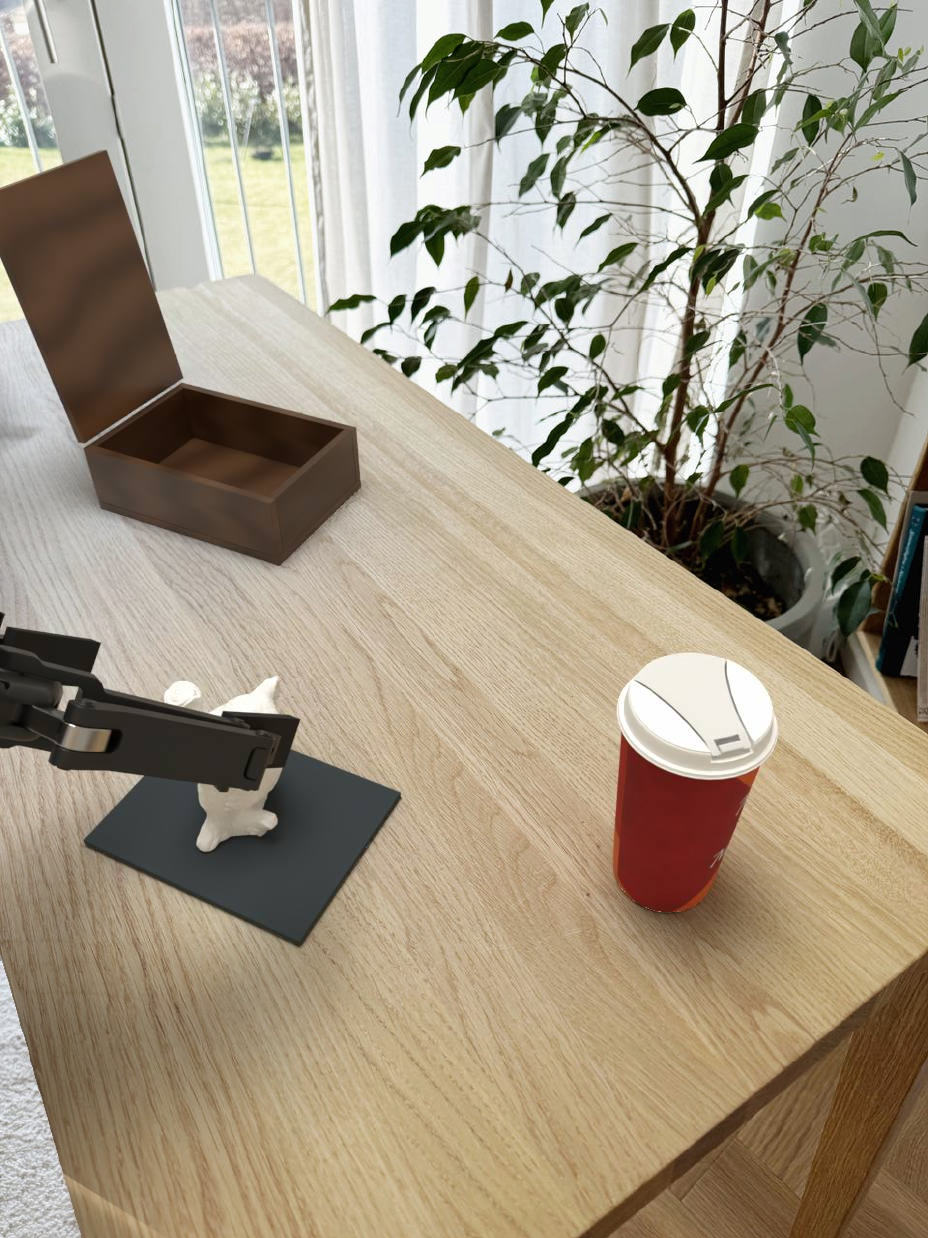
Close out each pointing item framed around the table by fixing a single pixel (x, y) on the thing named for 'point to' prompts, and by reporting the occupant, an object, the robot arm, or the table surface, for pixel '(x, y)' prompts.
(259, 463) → the chest
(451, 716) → the table surface
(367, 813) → the mat
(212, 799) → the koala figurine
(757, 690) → the coffee cup
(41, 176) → the chest lid
